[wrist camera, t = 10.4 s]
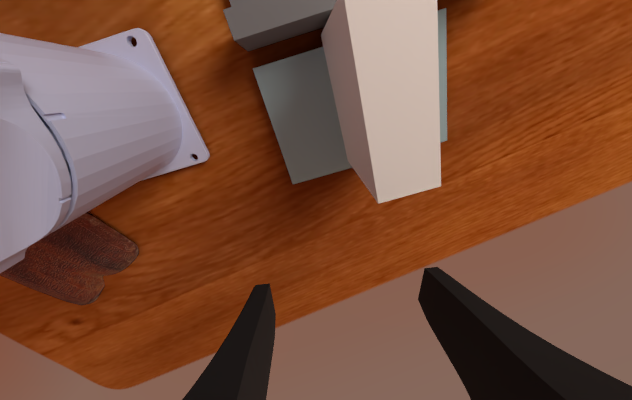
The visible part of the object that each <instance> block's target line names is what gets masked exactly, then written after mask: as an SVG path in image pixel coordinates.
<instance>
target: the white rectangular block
mask: <svg viewBox="0 0 632 400" xmlns="http://www.w3.org/2000/svg"><path fill="white" fill-rule="evenodd" d="M321 39H322V43H323V48H324V53H325V57H326V62H327V67H328V71H329V76H330V81H331V85H332V90H333V94H334V99H335V104H336V108H337V113H338V118H339V122H340V127H341V132H342V136H343V141H344V145H345V150H346V155H347V159H348V162H349V163H350V165H351V166H352V168H353V169H354V170H355V172H356V173H357V175H358V176H359V177H360V179H361V180H362V182H363V183H364V184H365V186H366V187H367V189H368V190H369V191H370V193H371V194H372V195H373V197H374V198H375V200H376V201H377V202H378V204H379V203H382V202H386V201H389V200H393V199H397V198H400V197H404V196H407V195H411V194H415V193H418V192H422V191H426V190H429V189H433V188H436V187H440V186H441V157H440V107H439V58H438V9H437V0H337V1H336V3H335V5H334V7H333V10H332V12H331V14H330V16H329V18H328V21H327V23H326V25H325V27H324V29H323V31H322V34H321Z"/></svg>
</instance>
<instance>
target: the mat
mask: <svg viewBox="0 0 632 400" xmlns="http://www.w3.org/2000/svg"><path fill="white" fill-rule="evenodd" d="M438 58H439V107H440V142H443V141H447V53H446V8H444V9H441V10H438ZM253 71H254V74H255V77H256V80H257V83H258V86H259V88H260V91H261V94H262V97H263V100H264V103H265V106H266V109H267V111H268V114H269V117H270V120H271V123H272V126H273V129H274V132H275V134H276V137H277V140H278V143H279V146H280V149H281V152H282V155H283V157H284V160H285V163H286V166H287V169H288V172H289V175H290V178H291V180H292V183H293V184H296V183H300V182H303V181H307V180H310V179H314V178H317V177H321V176H324V175H328V174H331V173H335V172H338V171H342V170H345V169H349V168H352V166H351V165H350V163H349V162H348V159H347V155H346V150H345V145H344V141H343V136H342V132H341V127H340V122H339V118H338V113H337V108H336V104H335V99H334V94H333V90H332V85H331V81H330V76H329V71H328V67H327V62H326V57H325V53H324V48H323V47H320V48H317V49H314V50H311V51H308V52H304V53H301V54H298V55H295V56H292V57H288V58H285V59H282V60H279V61H276V62H273V63H269V64H266V65H263V66H260V67H257V68H253Z"/></svg>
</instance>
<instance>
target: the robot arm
mask: <svg viewBox="0 0 632 400" xmlns="http://www.w3.org/2000/svg"><path fill="white" fill-rule="evenodd" d="M133 37H134V38H135V39H136V41H137V45H136V46H135V47H134V46H133V45H132V42H131V39H132V38H133ZM192 154H196V155H197V156H198V159H194V158H193V156H192ZM209 156H210V154H209V151H208V149H207V147H206V145H205V143H204V141H203V139H202V137H201V135H200V133H199V131H198V129H197V127H196V125H195V123H194V121H193V119H192V117H191V115H190V113H189V111H188V109H187V107H186V105H185V103H184V101H183V99H182V97H181V95H180V93H179V91H178V89H177V87H176V85H175V83H174V81H173V79H172V77H171V75H170V73H169V71H168V69H167V67H166V65H165V63H164V61H163V59H162V57H161V55H160V53H159V51H158V49H157V47H156V45H155V43H154V41H153V39H152V37H151V35H150V34H149V33H148V32H147V31H145V30H143V29H140V28H135V29H132V30H128V31H125V32H122V33H119V34H116V35H113V36H110V37H107V38H104V39H101V40H98V41H95V42H92V43H89V44H86V45H83V46H80V47H77V48H76V47H71V46H66V45H60V44H55V43H50V42H45V41H39V40H34V39H29V38H23V37H18V36H13V35H8V34H2V33H0V273H2V272H3V271H5V270H7V269H8V268H10V267H11V266H13V265H15V264H16V263H18V262H19V261H21V260H23V259H24V258H25V252H26V249H27V248H28V247H29V246H30V245H32V244H34V243H35V242H37V241H39V240H40V239H42V238H44V237H45V236H47V235H49V234H50V233H52V232H54V231H56V230H57V229H59V228H61V227H63V226H64V225H66V224H68V223H69V222H71V221H73V220H74V219H76V218H78V217H80V216H81V215H83V214H85V213H86V212H88V211H90V210H91V209H93V208H95V207H97V206H98V205H100V204H102V203H103V202H105V201H107V200H108V199H110V198H112V197H114V196H115V195H117V194H119V193H120V192H122V191H124V190H125V189H127V188H129V187H131V186H132V185H134V184H136V183H137V182H139V181H141V180H145V179H148V178H152V177H155V176H158V175H162V174H165V173H168V172H172V171H175V170H179V169H182V168H185V167H189V166H192V165H195V164H199V163H202V162H205V161H207V160H208V159H209ZM418 300H419V302H420V305H421V307H422V310H423V312H424V314H425V316H426V319H427V321H428V322H429V325H430V326H431V328H432V330H433V332H434V333H435V335H436V337H437V339H438V340H439V342H440V344H441V345H442V347H443V349H444V351H445V352H446V354H447V355H448V357H449V359H450V361H451V363H452V364H453V366H454V368H455V369H456V371H457V373H458V375H459V377H460V378H461V380H462V382H463V384H464V386H465V388H466V390H467V392H468V394H469V396H470V398H471V400H632V386H630V385H628V384H626V383H624V382H622V381H620V380H618V379H616V378H614V377H612V376H610V375H608V374H606V373H604V372H602V371H600V370H598V369H596V368H594V367H592V366H591V365H589V364H587V363H585V362H583V361H581V360H579V359H577V358H576V357H574V356H572V355H570V354H568V353H566V352H565V351H563V350H561V349H559V348H557V347H555V346H554V345H552V344H551V343H549V342H547V341H546V340H544V339H542V338H540V337H539V336H537V335H535V334H534V333H532V332H530V331H529V330H527V329H526V328H524V327H522V326H521V325H519V324H518V323H516V322H514V321H513V320H512V319H510V318H509V317H507V316H505V315H504V314H502V313H501V312H499V311H498V310H497V309H495V308H494V307H492V306H491V305H489V304H488V303H486V302H485V301H484V300H482V299H481V298H479V297H478V296H477V295H475V294H474V293H472V292H471V291H470V290H468V289H467V288H466V287H464V286H463V285H461V284H460V283H459V282H457V281H456V280H455V279H453V278H452V277H451V276H449V275H448V274H446V273H445V272H444V271H442V270H441V269H439V268H438V267H434V268H425V269H424V274H423V279H422V283H421V288H420V293H419V298H418ZM275 315H276V314H275V309H274V304H273V299H272V294H271V289H270V284H262V285H256V286H255V287H254V288H253V290H252V292H251V294H250V296H249V298H248V300H247V302H246V304H245V306H244V308H243V310H242V312H241V313H240V315H239V317H238V319H237V320H236V322H235V324H234V326H233V327H232V329H231V331H230V332H229V334H228V336H227V337H226V339H225V340H224V342H223V343H222V345H221V347H220V348H219V350H218V351H217V353H216V354H215V356H214V357H213V359H212V360H211V362H210V363H209V365H208V366H207V367H206V369H205V370H204V372H203V373H202V374H201V376H200V377H199V379H198V380H197V381H196V383H195V384H194V386H193V387H192V388H191V389H190V391H189V392H188V393H187V394H186V396H185V397H184V398H183V400H266V395H267V388H268V381H269V373H270V367H271V360H272V353H273V346H274V338H275Z"/></svg>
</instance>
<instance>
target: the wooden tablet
mask: <svg viewBox="0 0 632 400" xmlns="http://www.w3.org/2000/svg"><path fill="white" fill-rule="evenodd" d="M138 250H139V249H138V246H137V245H136V244H135V243H134V242H132V241H131V240H129V239H128V238H126V237H125V236H124V235H122V234H120V233H119V232H117V231H116V230H114V229H112V228H111V227H109V226H107V225H106V224H104V223H103V222H101V221H100V220H98V219H97V218H95V217H93V216H92V215H90V214H88V213H85V214H83V215H81V216H80V217H78V218H76V219H74V220H73V221H71V222H69V223H68V224H66V225H64V226H63V227H61V228H59V229H57V230H56V231H54V232H52V233H50V234H49V235H47V236H45V237H44V238H42V239H40V240H39V241H37V242H35V243H34V244H32V245H30V246H29V247H28V248H27V249H26V252H25V258H24V259H23V260H21V261H19V262H18V263H16V264H15V265H13V266H11V267H10V268H8V269H7V270H5V271H3V272H2V273H0V275H1V276H3V277H6V278H8V279H10V280H13V281H15V282H17V283H20V284H22V285H25V286H27V287H29V288H32V289H34V290H37V291H40V292H42V293H45V294H47V295H50V296H52V297H55V298H58V299H61V300H63V301H67V302H70V303H74V304H78V305H86V304H90V303H92V302H94V301H95V300H96V299H97V298H98V297H99V295H100V293H101V291H102V290H103V288H104V286H105V283H104V280H103V276H104V275H111V274H116V273H118V272H120V271H122V270H123V269H125V268H126V267H128V266H129V265H130V264H131V263H132V262H133V261H134V260H135V258H136V257H137V256H138V254H139V251H138Z"/></svg>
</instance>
